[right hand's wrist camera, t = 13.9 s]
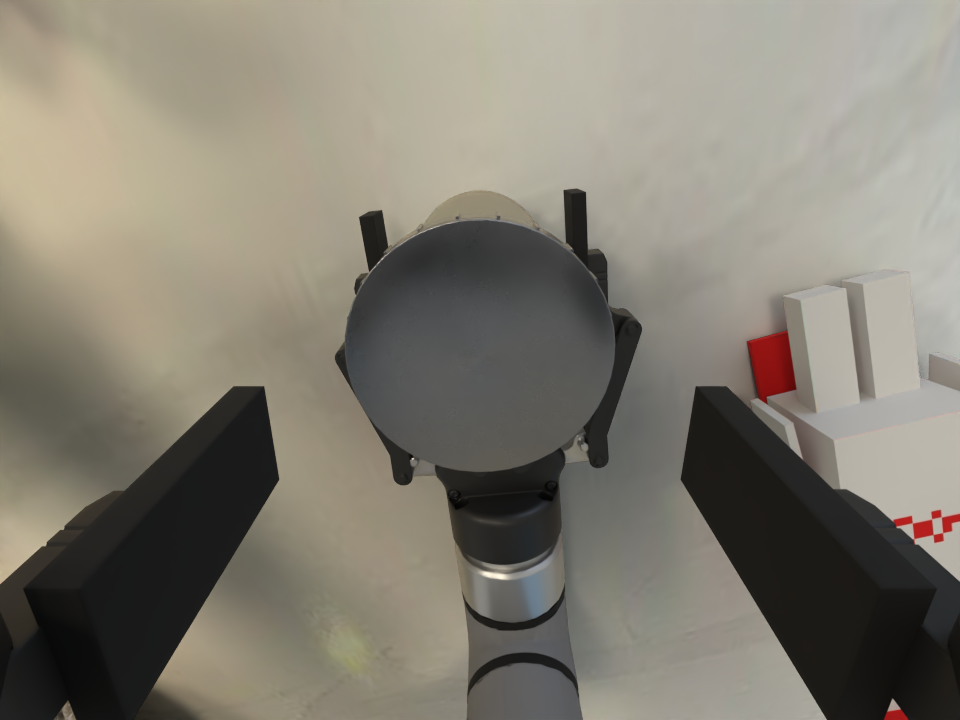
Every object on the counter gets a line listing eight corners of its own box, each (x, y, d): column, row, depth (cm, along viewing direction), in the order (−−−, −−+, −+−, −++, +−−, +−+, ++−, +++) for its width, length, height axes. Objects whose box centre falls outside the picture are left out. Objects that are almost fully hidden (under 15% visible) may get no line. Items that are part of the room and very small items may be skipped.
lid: (433, 155, 18) (428, 156, 16) (657, 302, 20) (674, 316, 18) (311, 376, 21) (296, 396, 19) (516, 486, 23) (519, 512, 21)
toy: (1032, 264, 27) (1053, 729, 34) (860, 252, 40) (900, 589, 47) (787, 326, 28) (853, 763, 35) (698, 295, 41) (758, 617, 48)
